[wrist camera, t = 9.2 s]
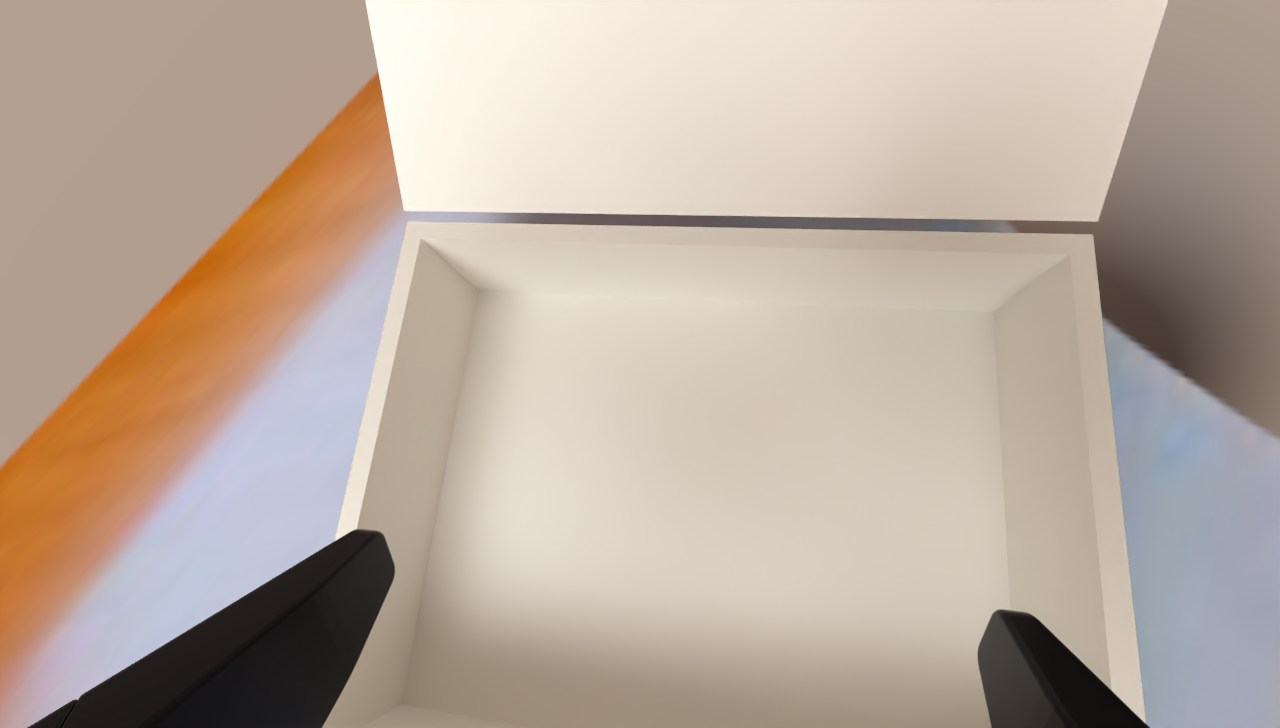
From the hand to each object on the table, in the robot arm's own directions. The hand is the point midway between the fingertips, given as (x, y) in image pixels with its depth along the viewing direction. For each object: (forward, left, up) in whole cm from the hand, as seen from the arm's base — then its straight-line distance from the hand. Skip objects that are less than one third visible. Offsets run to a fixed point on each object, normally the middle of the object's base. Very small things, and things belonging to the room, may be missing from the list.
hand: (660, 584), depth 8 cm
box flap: (+9, -3, -6) cm, 11 cm away
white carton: (+1, 0, -11) cm, 11 cm away
